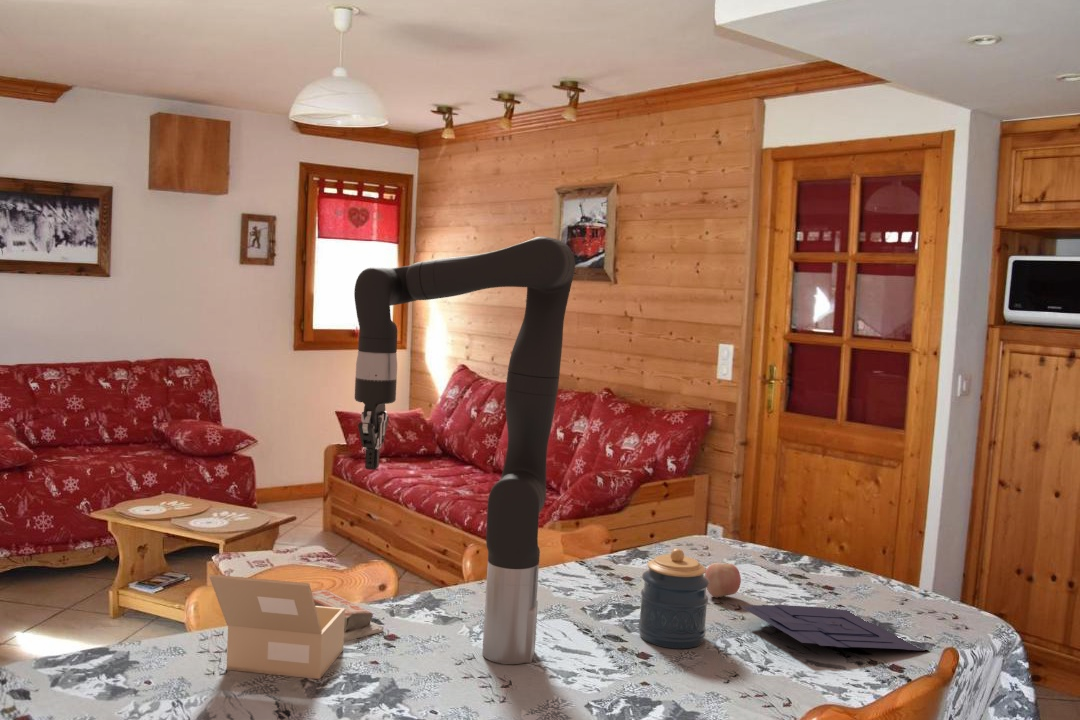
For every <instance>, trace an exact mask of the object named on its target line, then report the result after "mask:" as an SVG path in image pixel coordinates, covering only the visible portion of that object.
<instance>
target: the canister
mask: <svg viewBox="0 0 1080 720" xmlns="http://www.w3.org/2000/svg"><path fill="white" fill-rule="evenodd" d="M647 567H648V569H647V570H645V571H644V572H643V573H642V575H641V576H642V577H641V578H642V580H643V581H644V584H643V587H642V589H641V590H640V594H641V599H640V601H641V602H640V603H641V604H640V616H639V621H638V629H639V636H640V638H642V640H644V641H646V642H647V643H650V644H652V645H655V646H659V647H664V648H668V649H680V650H681V649H682V650H683V649H691V648H695V647H699V646H701V645H702V644H703V643H704V640H705V636H706V630H707V629H706V619H707V618H706V617H707V606H708V602H709V598H708V595H707V588H706V587H707V586H708V585H709V580H708V579H707V578H706V577H705V572H706V570H707V568H706V567H705V566H704V565H703V564H701V563H700V562H699V561H698V560H697V559H695V558H692V557H690V556H687V555H685V553H684V550H682V549H681V548H674V549H672V550H671V552H670V554H661V555H658V556H656V557H654V559H651V560H649V561H647Z"/></svg>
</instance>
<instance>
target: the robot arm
mask: <svg viewBox="0 0 1080 720" xmlns="http://www.w3.org/2000/svg"><path fill="white" fill-rule="evenodd" d="M575 261H576V260H575V257H574V253H573V251H572V250H571V248H570V247H569V246H568V244H566V242H564V241H562V240H560V239H558V238H553V237H549V236H536V237H533V238H531V239H529V240H526V241H523V242H520V243H516V244H513V245H511V246H508V247H504V248H502V249H497V250H493V251H489V252H484V253H479V254H471V255H462V256H461V255H460V256H452V257H444V258H443V257H442V258H437V259H436V258H434V259H430V260H423V261H418V262H414V263H411V265H405V266H399V267H398V266H396V267H375V266H373V267H368V268H365V269H364V270H362V271H361V272H360V273H359V275H358V276H357V278H356V281H355V284H354V285H355V286H354V293H353V294H354V304H355V310H356V311H355V312H356V317H357V323H358V327H359V330H358V331H359V332H358V343H357V344H358V346H357V348H358V349H357V350H358V351H357V357H356V363H355V378H354V379H355V380H354V382H355V383H354V400H355V401H356V402H358V403H363V404H364V407H363V411H362V412H361V415H360V417H361V418H360V422H358V424H357V427H358V432H359V436H360V437H359V438H360V443H361V447H362V448H364V450H365V459H364V461H365V462H364V463H365V465H364V468H365V469H366V470H371V471H375V470H377V469H378V468H379V466H380V449H381V448H382V445H383V444H384V442H385V437H386V431H387V428H388V425H389V421H390V417H389V414H388V411H386V405H387V404H388V405H389V404H393V403H395V402H396V397H397V384H398V382H397V381H398V379H397V378H398V377H397V376H398V358H397V356H398V355H397V352H398V351H397V350H398V326H397V323H395V322H394V321H393V320H392V317H391V306H392V307H393V306H398V305H403V304H408V303H412V302H415V301H428V300H429V301H430V300H436V299H437V300H438V299H445V298H451V297H456V296H461V295H466V294H471V293H473V292H477V291H482V290H486V289H487V290H488V289H493V288H494V289H495V288H507V287H508V288H509V287H510V288H512V287H513V288H515V287H516V288H526V300H525V301H526V302H525V311H524V315H523V316H524V317H523V320H522V323H521V326H520V328H519V331H518V333H517V336H516V339H515V342H514V345H513V347H512V350H511V354H510V357H509V362H508V368H507V375H506V383H505V393H504V394H505V395H504V405H505V406H504V407H505V409H504V410H505V417H506V418H505V419H506V426H507V428H506V429H507V449H506V453H505V455H506V456H505V461H504V464H503V465H504V466H503V469H502V473H501V477H500V479H499V480H498V481H496V483H495V484H494V485H493V486H492V487H491V489H490V492H489V495H488V499H487V511H486V536H485V537H486V540H485V541H486V549H487V569H486V571H487V572H486V584H485V585H486V586H485V604H484V620H483V638H482V655H483V657H484V658H485V659H486V660H489V661H491V662H494V663H496V664H502V665H516V664H517V665H519V664H524V663H527V664H531V663H532V662H533V658H534V655H535V651H536V639H537V636H536V635H537V623H538V622H537V620H538V605H539V602H538V600H537V599H538V585H539V572H540V571H539V568H540V555H541V554H540V553H541V552H540V551H541V550H540V547H539V544H538V543H539V542H538V540H539V539H538V538H539V536H538V535H539V521H540V520H539V519H540V518H539V516H540V513H541V512H542V510H543V508H544V506H545V504H546V497H547V457H548V446H549V439H550V434H551V431H552V430H551V429H552V426H553V420H554V415H555V411H556V410H555V408H556V402H557V398H558V397H557V396H558V390H559V384H560V383H559V382H560V376H561V375H560V374H561V361H562V353H563V352H562V351H563V341H564V339H563V337H564V322H565V317H566V316H565V315H566V311H567V310H566V309H567V306H568V301H569V296H570V292H571V287H572V285H573V284H572V283H573V280H574V275H575V269H576V262H575Z"/></svg>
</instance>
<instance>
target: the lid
mask: <svg viewBox="0 0 1080 720" xmlns="http://www.w3.org/2000/svg"><path fill="white" fill-rule="evenodd" d="M209 579H210V582H211V585H212V588H213V591H214V593H215V596H216V599H217V601H218V605H219V607H220V609H221V612H222V616H223V618H224V621H225V624H226V626H227V627H228V626H238V627H248V628H258V629H269V630H279V631H290V632H300V633H310V634H321V633H322V630H321V626H320V622H319V619H318V615H317V611H316V607H315V603H314V599H313V595H312V592H311V591H312V589H311V585H310V583H309V582H298V581H288V580H287V581H285V580H276V579H265V578H253V577H243V576H234V575H223V574H210V575H209Z"/></svg>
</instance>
